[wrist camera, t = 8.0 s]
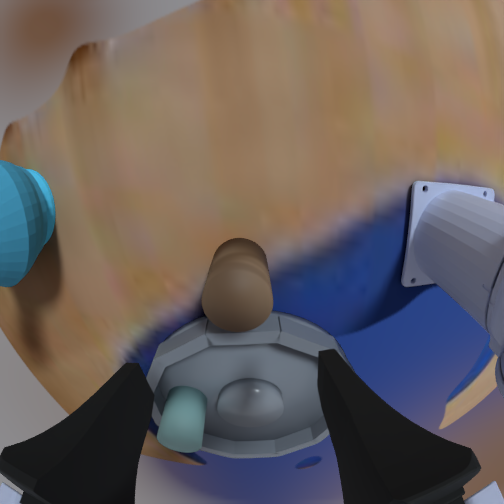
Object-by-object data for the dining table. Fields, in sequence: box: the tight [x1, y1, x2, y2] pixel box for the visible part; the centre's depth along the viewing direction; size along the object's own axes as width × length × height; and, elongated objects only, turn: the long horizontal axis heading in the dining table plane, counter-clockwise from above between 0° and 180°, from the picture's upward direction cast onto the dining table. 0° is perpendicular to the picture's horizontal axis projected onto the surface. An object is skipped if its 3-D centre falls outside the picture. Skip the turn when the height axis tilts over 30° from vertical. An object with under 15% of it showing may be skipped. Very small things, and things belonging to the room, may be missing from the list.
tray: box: [146, 311, 355, 458], centre depth 22 cm, size 18×18×3 cm
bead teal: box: [157, 386, 207, 453], centre depth 20 cm, size 4×4×5 cm
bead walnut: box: [202, 238, 273, 332], centre depth 16 cm, size 4×4×5 cm
